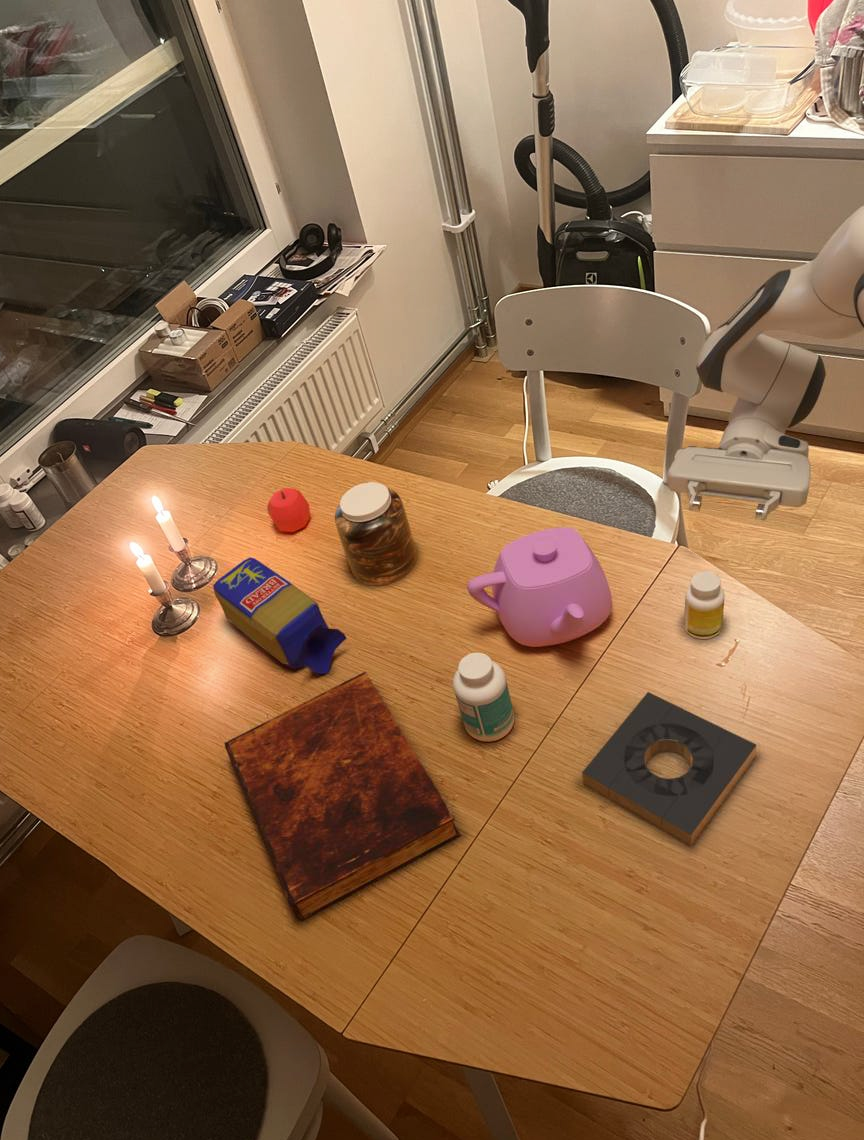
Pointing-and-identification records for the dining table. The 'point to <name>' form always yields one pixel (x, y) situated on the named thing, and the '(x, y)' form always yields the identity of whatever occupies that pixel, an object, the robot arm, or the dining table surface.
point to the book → (338, 795)
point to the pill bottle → (483, 697)
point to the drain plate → (673, 800)
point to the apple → (289, 509)
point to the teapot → (546, 588)
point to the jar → (375, 534)
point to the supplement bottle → (704, 606)
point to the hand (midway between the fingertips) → (726, 512)
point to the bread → (277, 616)
